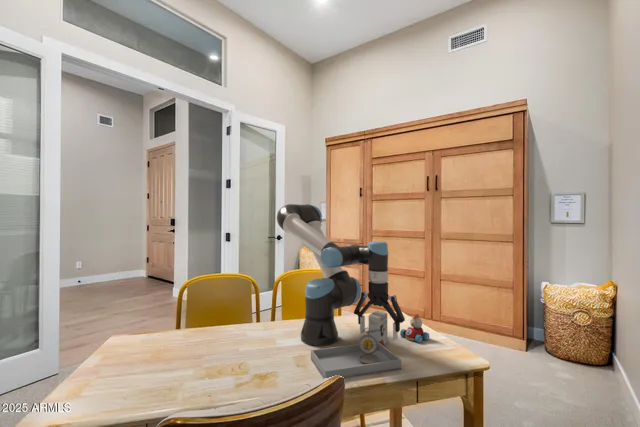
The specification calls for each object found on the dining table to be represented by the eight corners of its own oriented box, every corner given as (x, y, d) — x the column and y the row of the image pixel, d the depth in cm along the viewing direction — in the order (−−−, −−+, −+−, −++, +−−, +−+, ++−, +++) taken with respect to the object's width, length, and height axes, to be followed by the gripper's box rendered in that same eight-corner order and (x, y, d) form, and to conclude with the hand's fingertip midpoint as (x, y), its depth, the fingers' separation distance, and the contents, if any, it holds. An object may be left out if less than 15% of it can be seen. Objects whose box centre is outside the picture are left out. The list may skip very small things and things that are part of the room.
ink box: (379, 349, 120) (379, 317, 120) (367, 346, 122) (367, 315, 123) (387, 341, 127) (388, 311, 127) (376, 339, 130) (376, 309, 130)
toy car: (398, 337, 132) (398, 313, 132) (412, 332, 137) (412, 309, 137) (417, 344, 125) (417, 318, 125) (430, 339, 130) (430, 314, 130)
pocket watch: (367, 367, 104) (367, 336, 104) (352, 357, 111) (352, 328, 111) (386, 361, 108) (386, 332, 108) (370, 352, 116) (370, 324, 116)
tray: (325, 381, 96) (325, 371, 97) (310, 358, 112) (310, 350, 112) (401, 369, 104) (401, 359, 104) (377, 349, 120) (377, 341, 120)
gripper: (345, 279, 129) (345, 332, 128) (406, 286, 115) (406, 346, 115) (354, 276, 135) (354, 327, 135) (413, 283, 121) (413, 339, 121)
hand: (378, 336), depth 125 cm, fingers open, 13 cm apart
